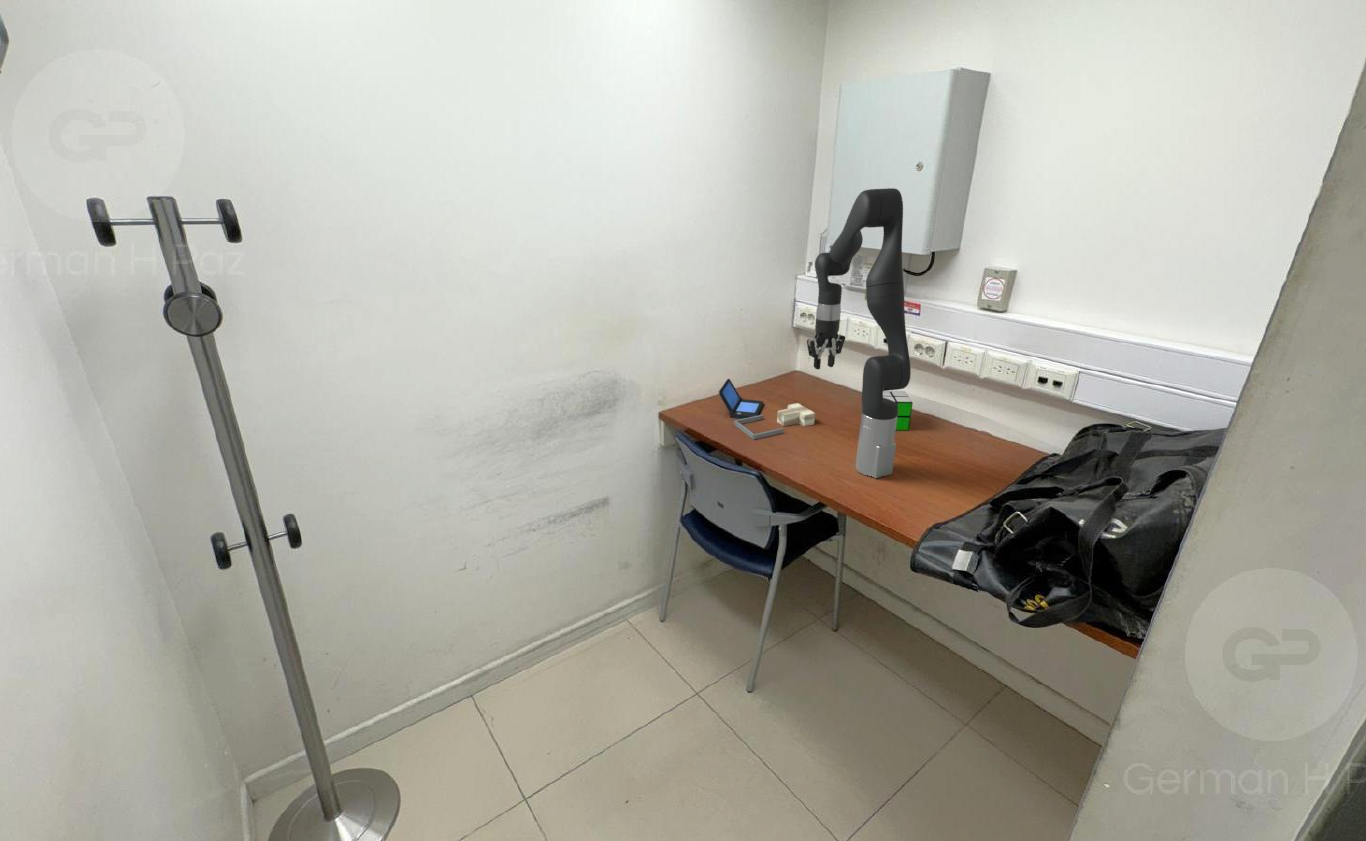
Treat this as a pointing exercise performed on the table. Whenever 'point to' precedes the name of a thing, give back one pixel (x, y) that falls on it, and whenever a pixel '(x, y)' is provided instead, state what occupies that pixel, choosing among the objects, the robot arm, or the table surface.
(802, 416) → the t block
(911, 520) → the table surface
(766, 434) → the frame
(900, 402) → the puzzle cube
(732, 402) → the handheld game console
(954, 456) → the table surface
